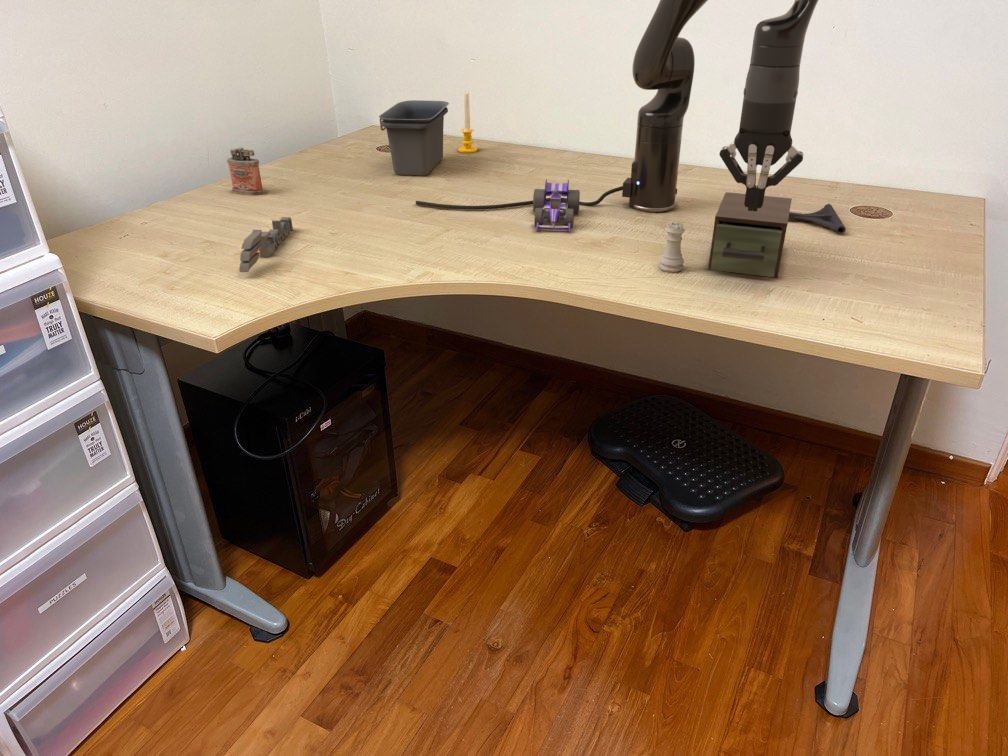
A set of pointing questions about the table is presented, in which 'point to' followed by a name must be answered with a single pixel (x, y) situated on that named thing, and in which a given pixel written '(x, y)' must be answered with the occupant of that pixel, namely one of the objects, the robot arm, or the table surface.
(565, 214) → the toy race car
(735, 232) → the drawer
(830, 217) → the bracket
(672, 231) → the rook chess piece
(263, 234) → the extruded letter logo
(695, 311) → the table surface
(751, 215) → the cabinet
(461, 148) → the candle
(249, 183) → the lighter
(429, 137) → the storage bin
